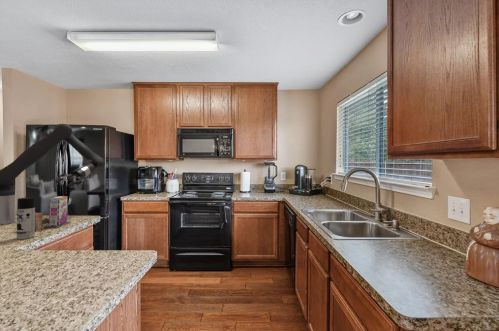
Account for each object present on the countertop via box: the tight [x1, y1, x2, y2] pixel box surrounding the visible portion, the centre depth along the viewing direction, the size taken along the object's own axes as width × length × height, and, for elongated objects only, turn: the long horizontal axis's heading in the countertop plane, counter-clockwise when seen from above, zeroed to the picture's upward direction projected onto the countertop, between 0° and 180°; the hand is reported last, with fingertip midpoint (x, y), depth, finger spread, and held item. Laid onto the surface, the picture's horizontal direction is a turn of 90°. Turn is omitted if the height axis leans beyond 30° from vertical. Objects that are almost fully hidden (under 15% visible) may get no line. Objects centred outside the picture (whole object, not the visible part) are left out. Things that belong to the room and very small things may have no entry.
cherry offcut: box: [35, 212, 43, 223], centre depth 139 cm, size 4×4×4 cm
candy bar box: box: [48, 195, 68, 226], centre depth 149 cm, size 11×5×16 cm, turn 15°
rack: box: [35, 217, 49, 233], centre depth 145 cm, size 9×22×4 cm, turn 8°
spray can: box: [16, 196, 36, 240], centre depth 124 cm, size 7×7×20 cm
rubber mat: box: [44, 221, 71, 229], centre depth 149 cm, size 6×13×1 cm, turn 8°
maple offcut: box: [35, 221, 43, 230], centre depth 139 cm, size 4×4×4 cm
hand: (62, 184), depth 159 cm, fingers open, 8 cm apart
